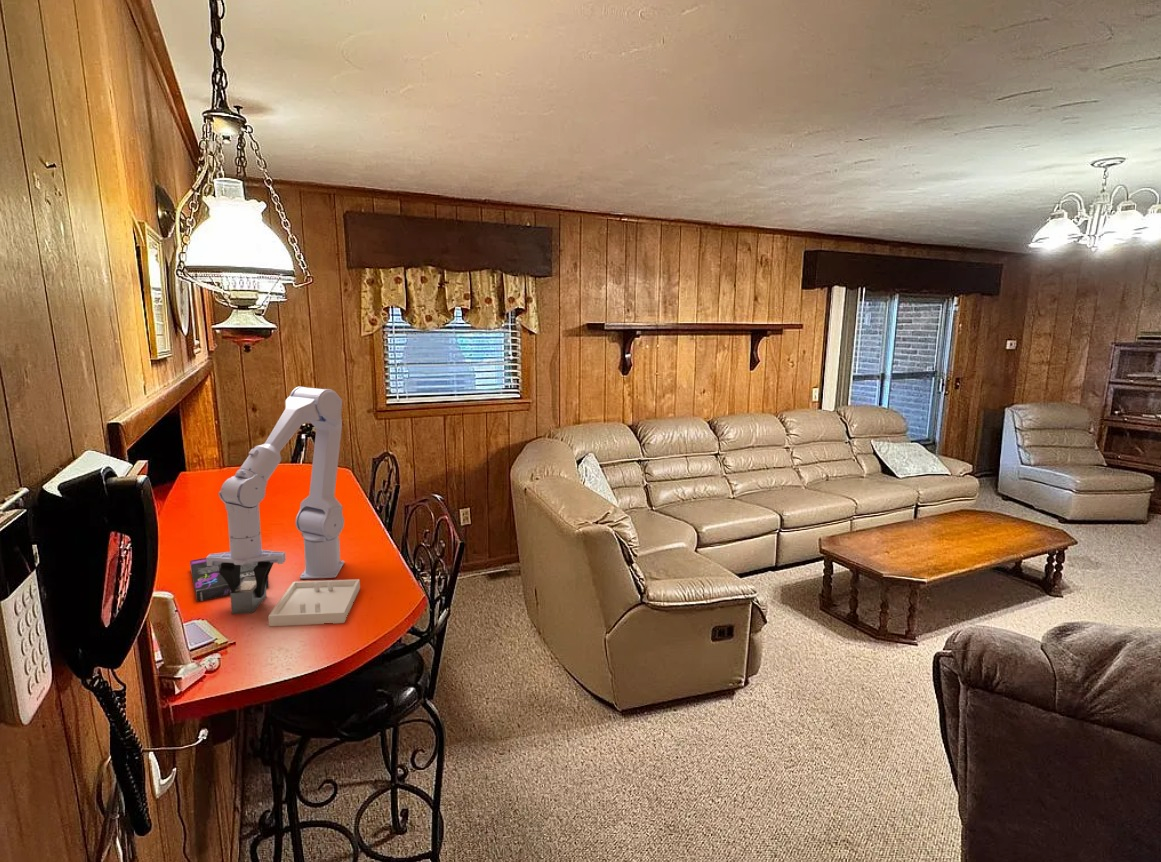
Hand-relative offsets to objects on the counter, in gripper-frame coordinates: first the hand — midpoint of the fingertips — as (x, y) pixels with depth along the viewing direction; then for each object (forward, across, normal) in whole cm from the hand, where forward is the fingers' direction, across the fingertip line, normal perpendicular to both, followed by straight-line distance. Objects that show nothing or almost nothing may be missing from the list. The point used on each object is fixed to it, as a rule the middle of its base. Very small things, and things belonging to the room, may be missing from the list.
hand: (249, 596), depth 126 cm
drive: (+2, 0, 0) cm, 2 cm away
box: (+3, -9, +14) cm, 17 cm away
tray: (+2, +14, -2) cm, 14 cm away
